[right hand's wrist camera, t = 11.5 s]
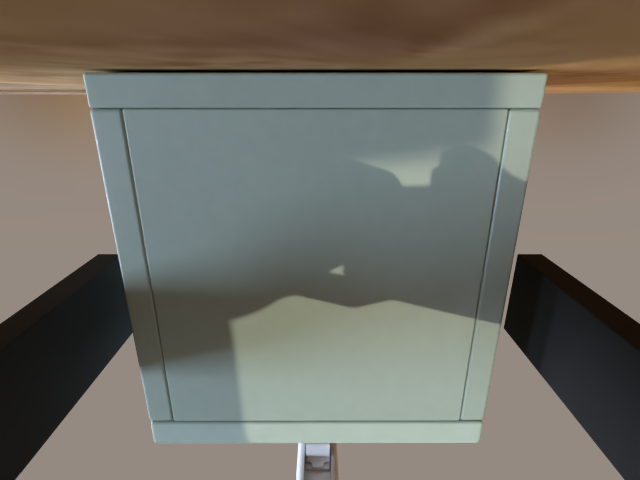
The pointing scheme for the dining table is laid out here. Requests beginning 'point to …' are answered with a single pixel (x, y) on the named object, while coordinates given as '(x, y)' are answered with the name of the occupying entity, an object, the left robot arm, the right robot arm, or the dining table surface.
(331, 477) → the left robot arm
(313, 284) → the chest
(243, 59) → the dining table surface
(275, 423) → the lid
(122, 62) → the dining table surface
